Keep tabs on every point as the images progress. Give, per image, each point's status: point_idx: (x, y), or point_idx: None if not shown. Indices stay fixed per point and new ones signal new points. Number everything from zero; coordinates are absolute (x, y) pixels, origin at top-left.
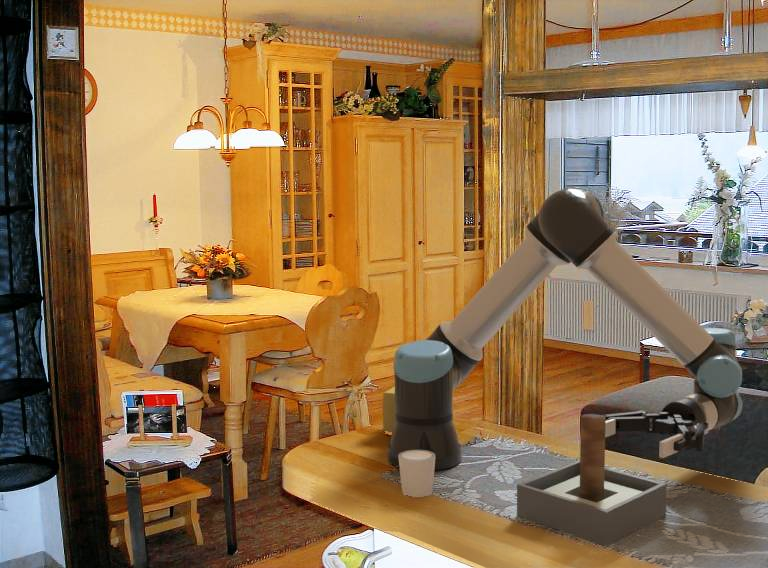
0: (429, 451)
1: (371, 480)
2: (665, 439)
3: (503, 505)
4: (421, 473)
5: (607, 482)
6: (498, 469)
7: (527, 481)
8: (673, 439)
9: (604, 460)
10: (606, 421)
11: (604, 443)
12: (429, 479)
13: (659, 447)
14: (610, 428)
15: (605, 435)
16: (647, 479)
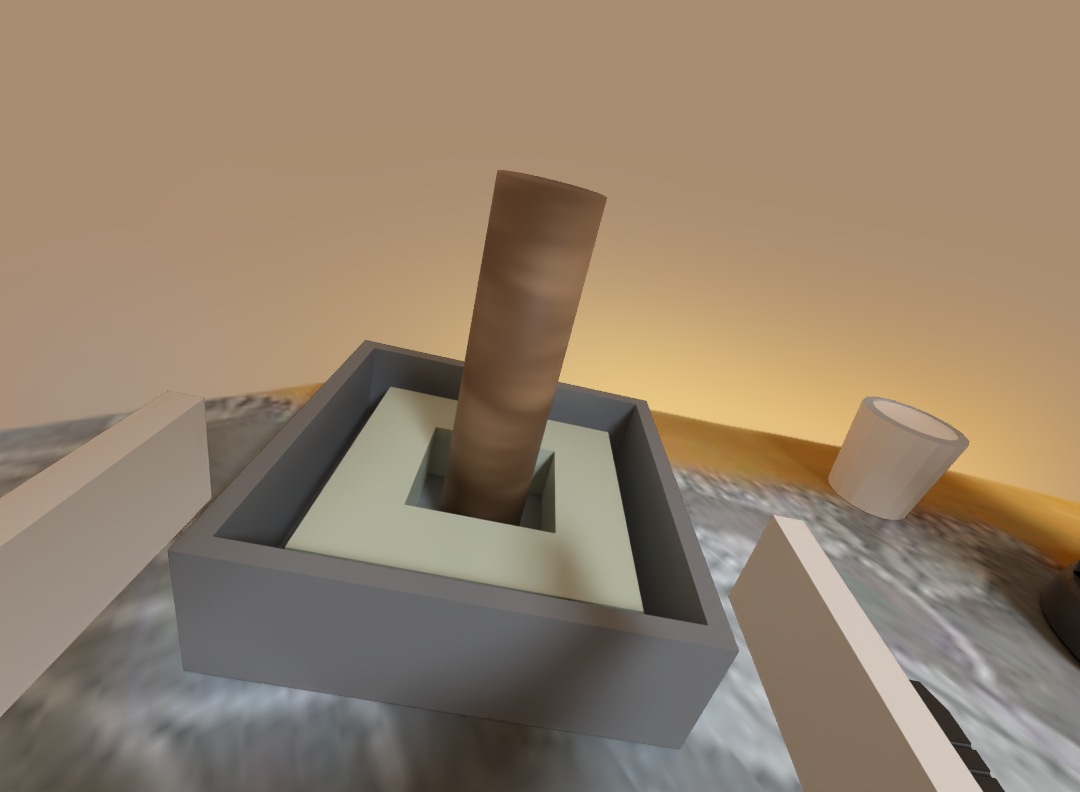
0: (943, 443)
1: (970, 506)
2: (138, 444)
3: (694, 505)
4: (850, 428)
5: (494, 575)
6: (1067, 773)
7: (647, 418)
8: (27, 489)
9: (467, 362)
10: (911, 702)
11: (477, 288)
12: (849, 456)
13: (206, 437)
14: (854, 779)
15: (787, 717)
16: (290, 562)
